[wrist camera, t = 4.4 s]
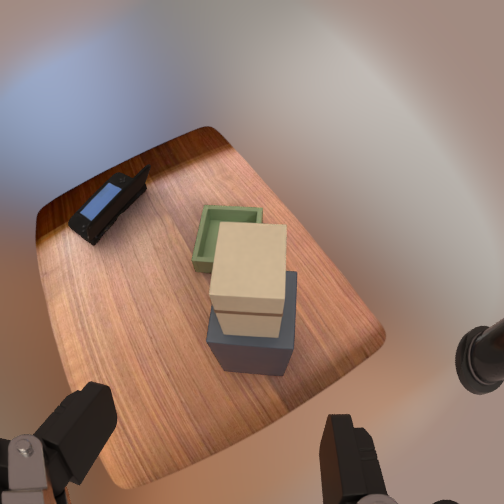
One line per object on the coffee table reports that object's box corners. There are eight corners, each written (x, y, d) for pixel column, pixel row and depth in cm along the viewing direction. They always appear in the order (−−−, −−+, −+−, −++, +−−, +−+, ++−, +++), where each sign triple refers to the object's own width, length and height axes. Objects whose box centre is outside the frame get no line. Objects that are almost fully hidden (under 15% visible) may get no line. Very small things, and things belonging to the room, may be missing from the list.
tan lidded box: (281, 278, 31) (287, 223, 24) (278, 338, 28) (285, 299, 20) (229, 276, 32) (219, 220, 24) (222, 335, 28) (207, 295, 21)
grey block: (286, 321, 44) (297, 271, 32) (283, 376, 40) (293, 349, 27) (230, 316, 45) (217, 265, 32) (223, 371, 41) (205, 341, 28)
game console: (119, 175, 62) (105, 142, 54) (164, 197, 57) (152, 162, 50) (68, 227, 55) (47, 197, 47) (108, 258, 51) (86, 227, 43)
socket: (262, 220, 54) (262, 207, 51) (257, 276, 48) (257, 265, 45) (207, 217, 55) (204, 204, 52) (195, 272, 49) (191, 260, 46)
